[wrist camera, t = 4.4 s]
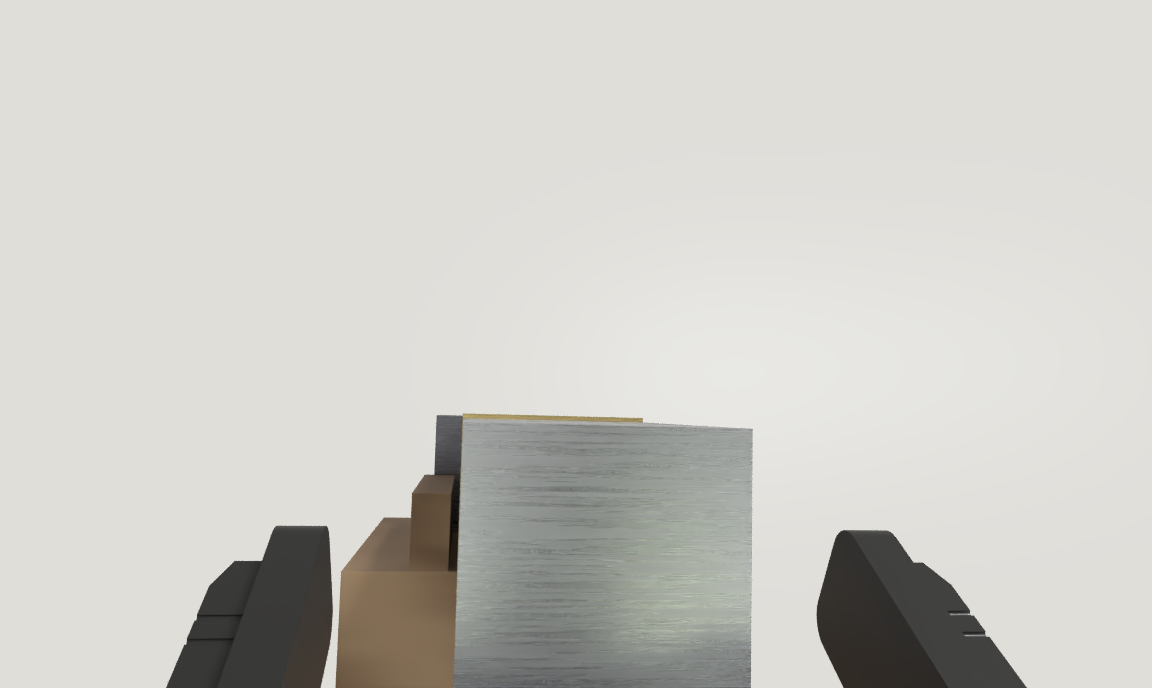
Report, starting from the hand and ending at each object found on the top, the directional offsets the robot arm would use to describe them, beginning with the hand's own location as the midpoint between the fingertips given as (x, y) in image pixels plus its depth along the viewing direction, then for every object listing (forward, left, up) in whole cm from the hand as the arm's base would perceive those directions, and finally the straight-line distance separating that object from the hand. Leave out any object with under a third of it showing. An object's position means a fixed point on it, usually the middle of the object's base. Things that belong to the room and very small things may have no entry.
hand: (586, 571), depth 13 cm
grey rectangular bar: (0, -9, -2) cm, 9 cm away
